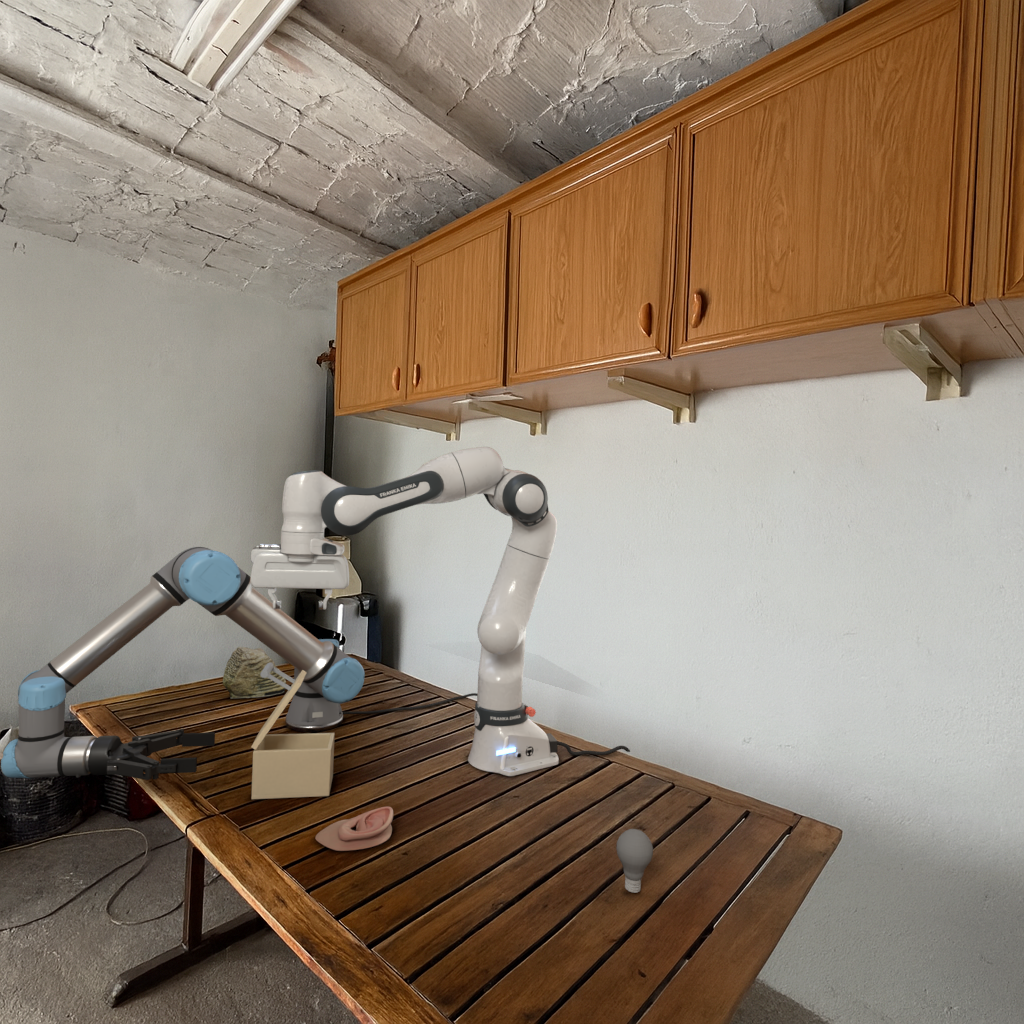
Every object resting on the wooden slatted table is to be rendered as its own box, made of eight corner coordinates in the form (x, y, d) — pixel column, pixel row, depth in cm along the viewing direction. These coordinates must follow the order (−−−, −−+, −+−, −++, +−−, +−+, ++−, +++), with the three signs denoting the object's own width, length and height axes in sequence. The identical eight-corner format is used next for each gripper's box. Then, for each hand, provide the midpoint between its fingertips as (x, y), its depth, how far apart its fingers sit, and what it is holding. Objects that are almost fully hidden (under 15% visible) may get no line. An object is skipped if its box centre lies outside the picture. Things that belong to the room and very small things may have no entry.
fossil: (218, 695, 195) (220, 647, 195) (278, 685, 208) (279, 640, 207) (228, 703, 189) (230, 653, 188) (289, 692, 201) (290, 645, 201)
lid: (306, 672, 142) (274, 652, 141) (301, 684, 133) (266, 664, 131) (264, 733, 141) (231, 714, 139) (255, 750, 131) (220, 729, 130)
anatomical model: (307, 824, 115) (337, 795, 126) (306, 846, 115) (336, 815, 126) (376, 835, 112) (400, 805, 123) (375, 857, 112) (399, 825, 123)
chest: (332, 776, 144) (334, 732, 144) (329, 795, 134) (330, 749, 134) (260, 779, 141) (262, 734, 140) (251, 799, 131) (253, 751, 131)
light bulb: (610, 879, 108) (613, 822, 108) (644, 879, 109) (647, 822, 109) (619, 902, 102) (622, 840, 102) (655, 901, 103) (658, 840, 103)
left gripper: (119, 749, 142) (220, 745, 146) (63, 802, 118) (186, 796, 122) (120, 716, 142) (221, 713, 146) (64, 762, 117) (187, 757, 121)
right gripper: (248, 544, 131) (245, 611, 132) (349, 547, 135) (346, 612, 136) (254, 542, 138) (252, 605, 138) (351, 545, 142) (348, 606, 142)
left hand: (206, 751), depth 134 cm, fingers open, 13 cm apart
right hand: (299, 608), depth 137 cm, fingers open, 8 cm apart
